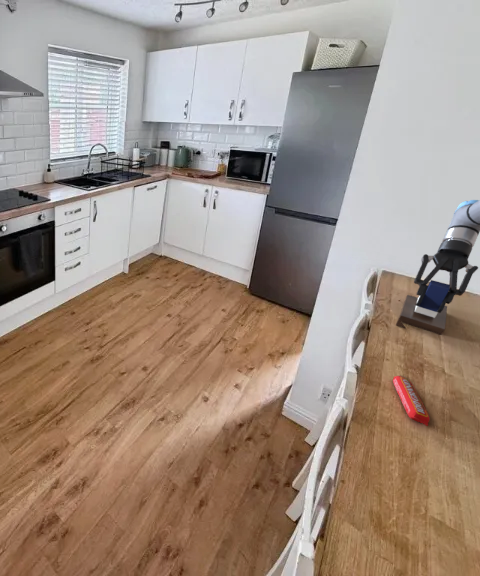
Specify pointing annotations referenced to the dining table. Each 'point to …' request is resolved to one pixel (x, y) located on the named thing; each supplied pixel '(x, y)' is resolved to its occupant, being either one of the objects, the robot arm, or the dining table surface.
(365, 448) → the dining table surface
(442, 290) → the two-tone navy white block
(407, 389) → the candy bar
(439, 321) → the shoe shelf
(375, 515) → the dining table surface
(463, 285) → the robot arm
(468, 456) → the dining table surface
